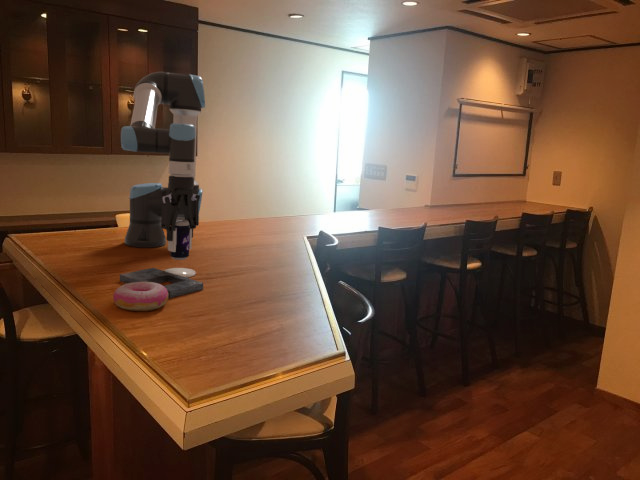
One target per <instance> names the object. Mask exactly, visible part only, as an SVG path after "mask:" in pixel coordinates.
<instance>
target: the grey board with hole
mask: <svg viewBox="0 0 640 480" xmlns="http://www.w3.org/2000/svg"><path fill="white" fill-rule="evenodd" d="M119 281H120V282H122V283H125V284H128V283H134V282H154V283H158V284H162V283H166V282H169V283H170V284H165V285H163V286H164V287H165V288H166V289H167V291H168V299H173V298H176V297H181V296H184V295H188V294H190V293H191V294H192V293H195V292H199V291H203V290H204V282H201V281H198V280H195V279H192V278H190V277H188V278H186V277H182V276H179V275H176V274H173V273H169V272H166V271H164V269H163V270H162V269H159V268H156V267H149V268H146V269H140V270H136V271H130V272H126V273H121V274H119Z"/></svg>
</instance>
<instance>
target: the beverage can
mask: <svg viewBox="0 0 640 480" xmlns="http://www.w3.org/2000/svg"><path fill="white" fill-rule="evenodd" d="M174 231H176V252H172V251H169V253H170V254H169V255H170V257H171V258H172V259H173V260H175V261H183V260H187V258H188V257H190V249H189V240H190V224H189V221H188V220H185V219H183V218H177V219H176V223H175V227H174Z"/></svg>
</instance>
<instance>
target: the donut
mask: <svg viewBox="0 0 640 480" xmlns="http://www.w3.org/2000/svg"><path fill="white" fill-rule="evenodd" d="M164 286H165V285H162V283H154V282H134V283H128V284H127V283H125V284H123V285H120V286H119V287H118V288H116V290H115V291H114V293H113V303H114V304H115V305H116V306H117V307H119V308H120V309H122V310H126V311H131V312H148V311H153V310H157V309H160V308H162V307H163V306H164V305H166V303H167V302H168V299H169V298H168V291H167V289H166V288H165V287H164Z"/></svg>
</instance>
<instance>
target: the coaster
mask: <svg viewBox="0 0 640 480" xmlns="http://www.w3.org/2000/svg"><path fill="white" fill-rule="evenodd" d="M163 271H166V272H169V273H173V274H176V275H179V276H182V277H186V278H192V277H194V276H196V271H195V270H194V269H192V268H186V267H172V268H171V267H170V268H167V269H165V270H164V269H163Z"/></svg>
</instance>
